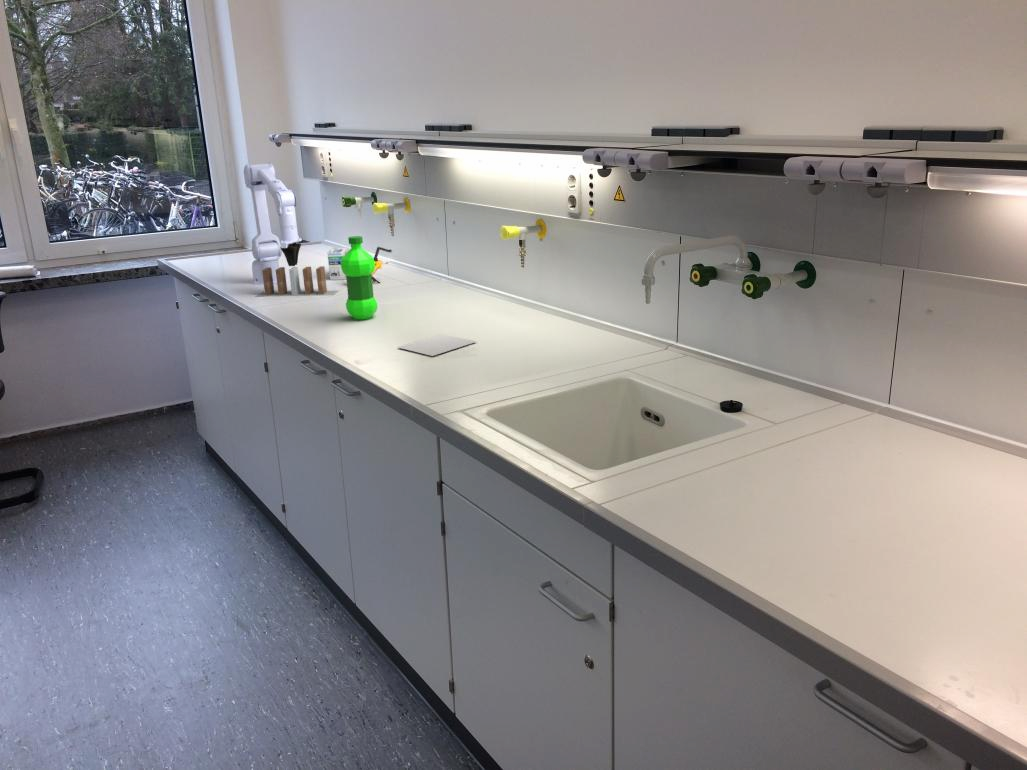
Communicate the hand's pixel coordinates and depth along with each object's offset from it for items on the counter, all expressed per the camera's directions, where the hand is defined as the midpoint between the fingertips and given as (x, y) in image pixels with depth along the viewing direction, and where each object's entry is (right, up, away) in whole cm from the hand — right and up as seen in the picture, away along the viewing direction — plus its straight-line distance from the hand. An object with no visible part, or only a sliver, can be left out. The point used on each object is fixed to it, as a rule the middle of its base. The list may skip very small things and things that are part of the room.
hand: (293, 265), depth 295 cm
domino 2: (-4, -9, +4) cm, 11 cm away
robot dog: (+25, -5, +17) cm, 30 cm away
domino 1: (-9, -10, +4) cm, 14 cm away
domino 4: (+10, -9, +2) cm, 14 cm away
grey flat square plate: (+57, -34, -71) cm, 97 cm away
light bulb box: (+10, 0, +31) cm, 33 cm away
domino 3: (+5, -9, +3) cm, 11 cm away
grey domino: (0, -9, +3) cm, 10 cm away
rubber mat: (+1, -10, +3) cm, 10 cm away
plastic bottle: (+30, -21, -32) cm, 49 cm away
